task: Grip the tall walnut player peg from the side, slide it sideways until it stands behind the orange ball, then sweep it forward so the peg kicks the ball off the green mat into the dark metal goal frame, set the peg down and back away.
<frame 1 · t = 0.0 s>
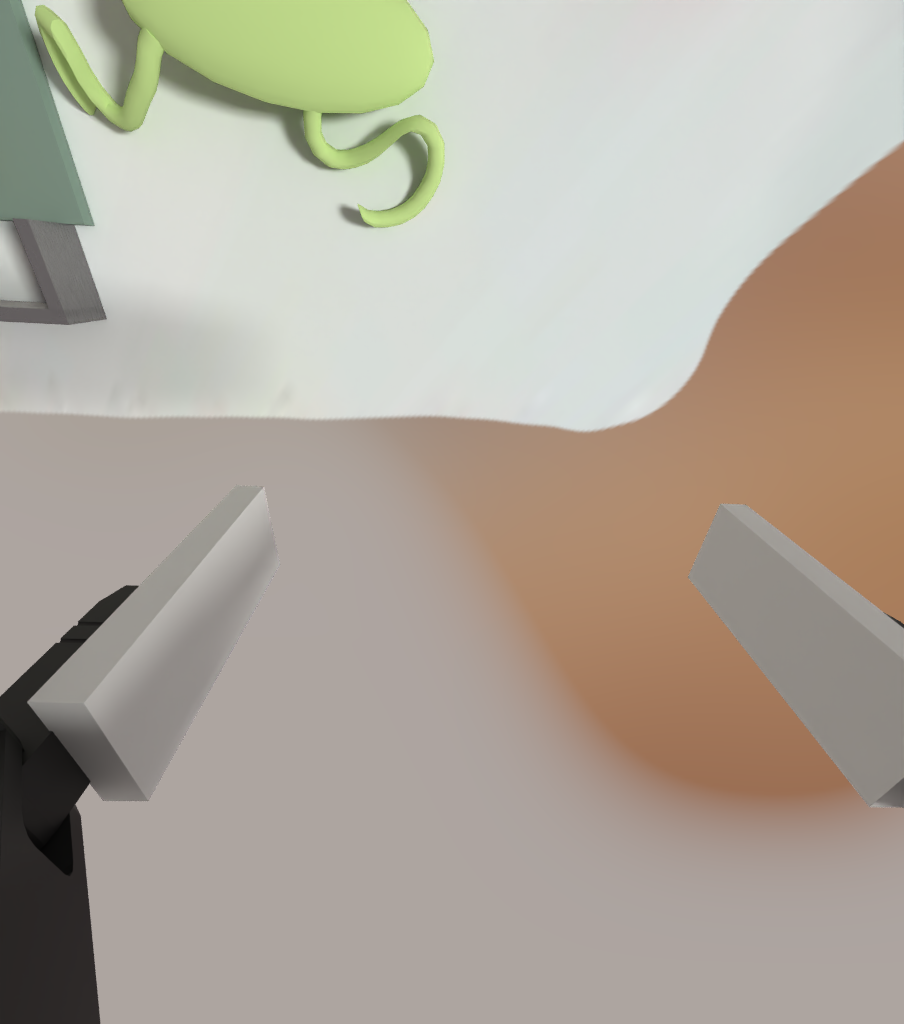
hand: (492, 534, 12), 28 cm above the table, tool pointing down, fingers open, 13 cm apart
figurine: (253, 6, 26), on the table
goal: (17, 266, 32), on the table
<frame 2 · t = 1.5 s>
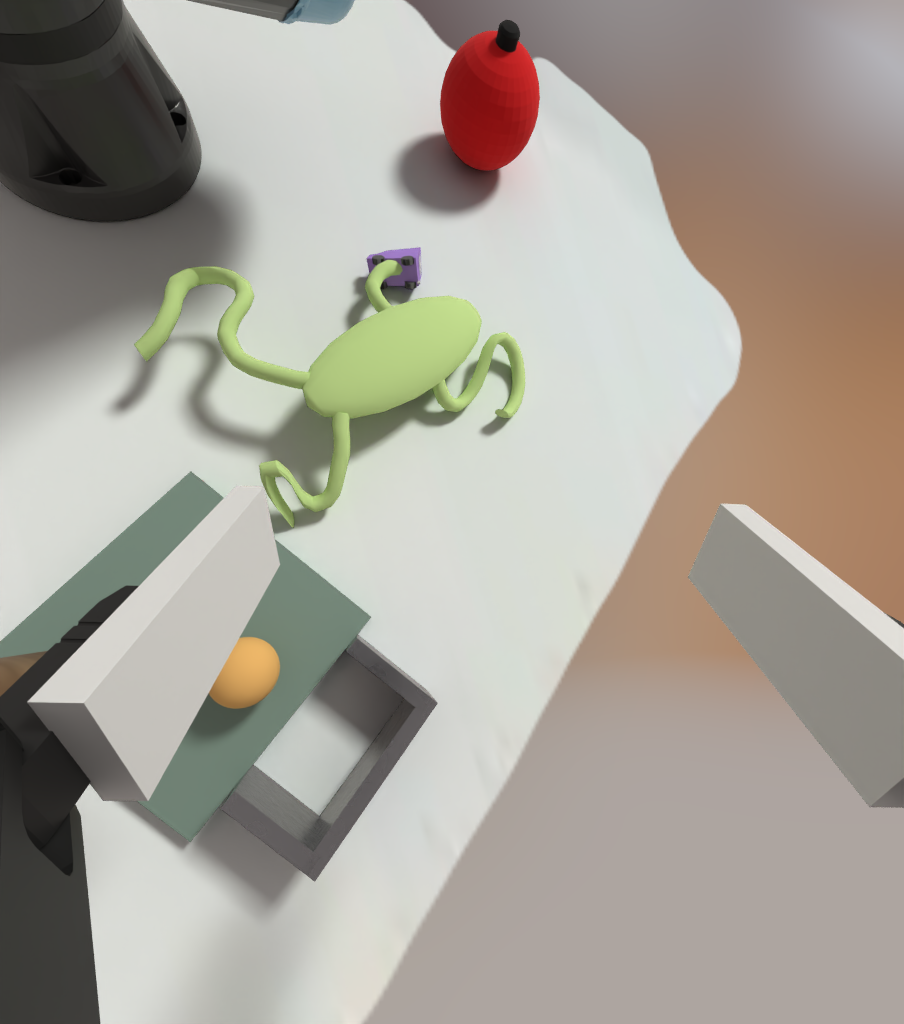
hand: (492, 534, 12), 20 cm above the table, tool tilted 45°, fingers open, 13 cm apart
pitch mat: (196, 639, 27), on the table
ornament: (475, 159, 42), on the table
player peg: (83, 680, 24), point 1 cm above the table, touching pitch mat
figurine: (355, 382, 34), on the table
goal: (337, 729, 28), on the table
ball: (243, 671, 25), point 3 cm above the table, touching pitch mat
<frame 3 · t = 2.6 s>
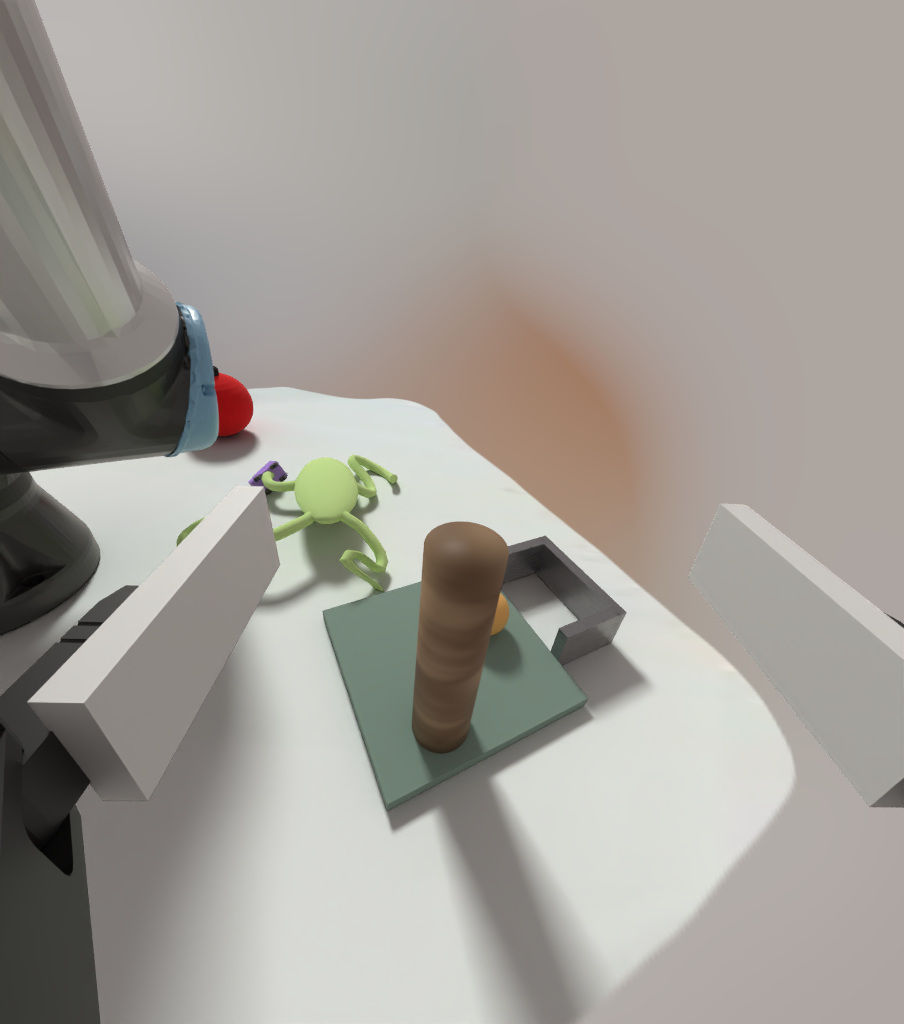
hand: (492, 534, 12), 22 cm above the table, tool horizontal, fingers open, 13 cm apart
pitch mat: (445, 659, 34), on the table
ornament: (226, 434, 63), on the table
player peg: (440, 723, 28), point 1 cm above the table, touching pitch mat
figurine: (313, 530, 47), on the table
goal: (543, 610, 39), on the table
ball: (485, 611, 34), point 3 cm above the table, touching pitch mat
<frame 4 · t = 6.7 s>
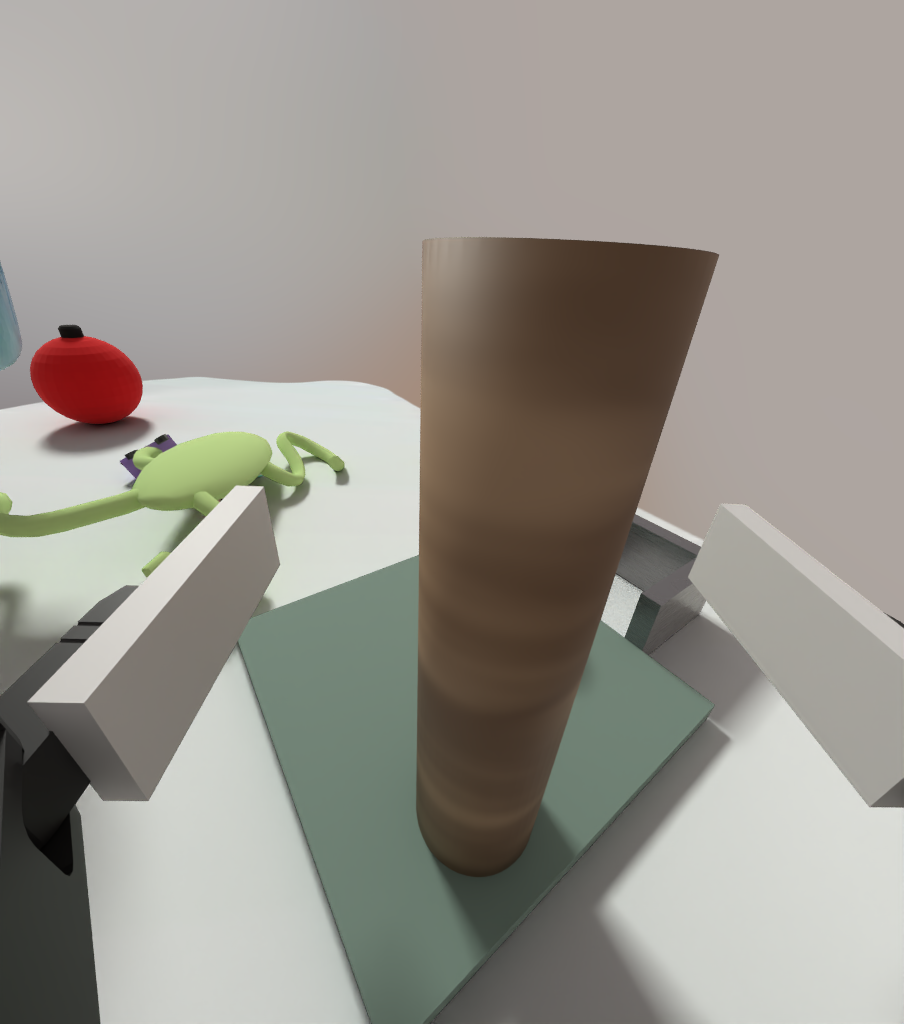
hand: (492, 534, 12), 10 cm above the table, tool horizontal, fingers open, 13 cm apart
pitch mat: (456, 676, 20), on the table
ornament: (106, 423, 46), on the table
player peg: (474, 802, 14), point 1 cm above the table, touching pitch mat
figurine: (187, 529, 30), on the table
goal: (586, 582, 26), on the table
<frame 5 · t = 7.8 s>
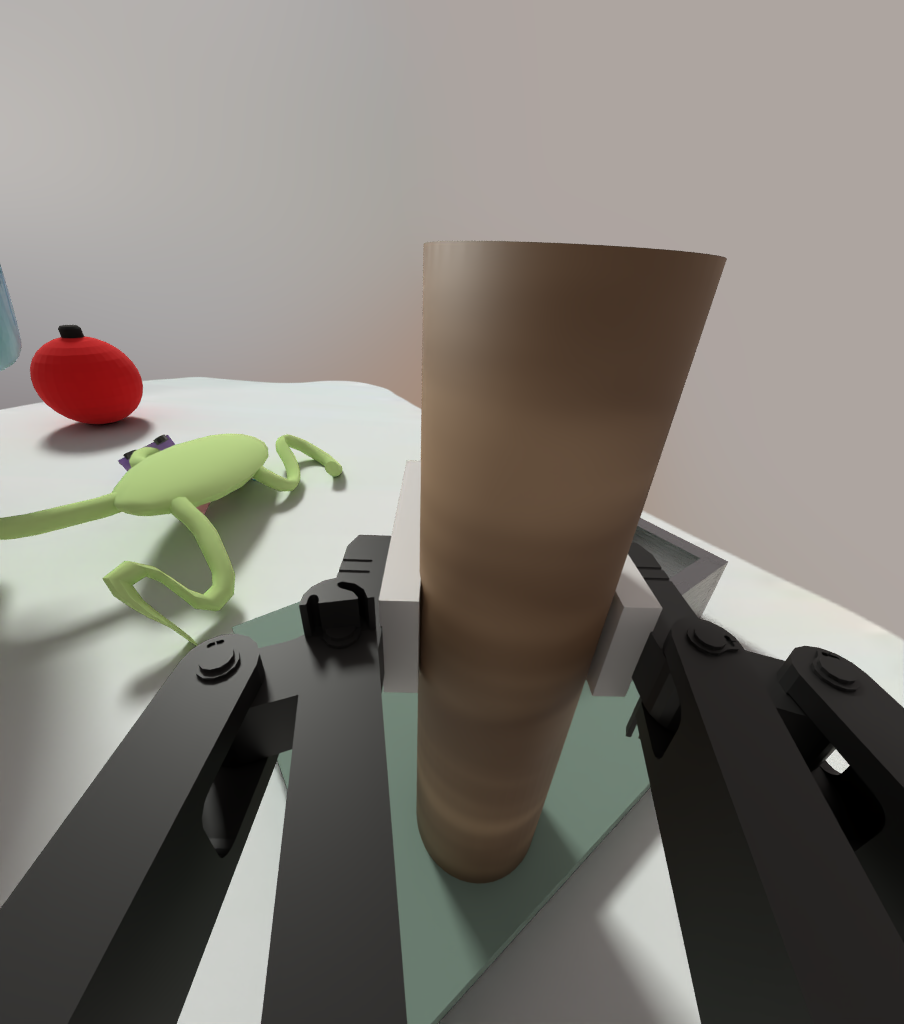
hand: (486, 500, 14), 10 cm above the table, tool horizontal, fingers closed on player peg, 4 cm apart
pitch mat: (457, 679, 19), on the table
ornament: (106, 423, 46), on the table
player peg: (475, 807, 14), point 1 cm above the table, touching gripper
figurine: (175, 533, 29), on the table
goal: (587, 584, 26), on the table
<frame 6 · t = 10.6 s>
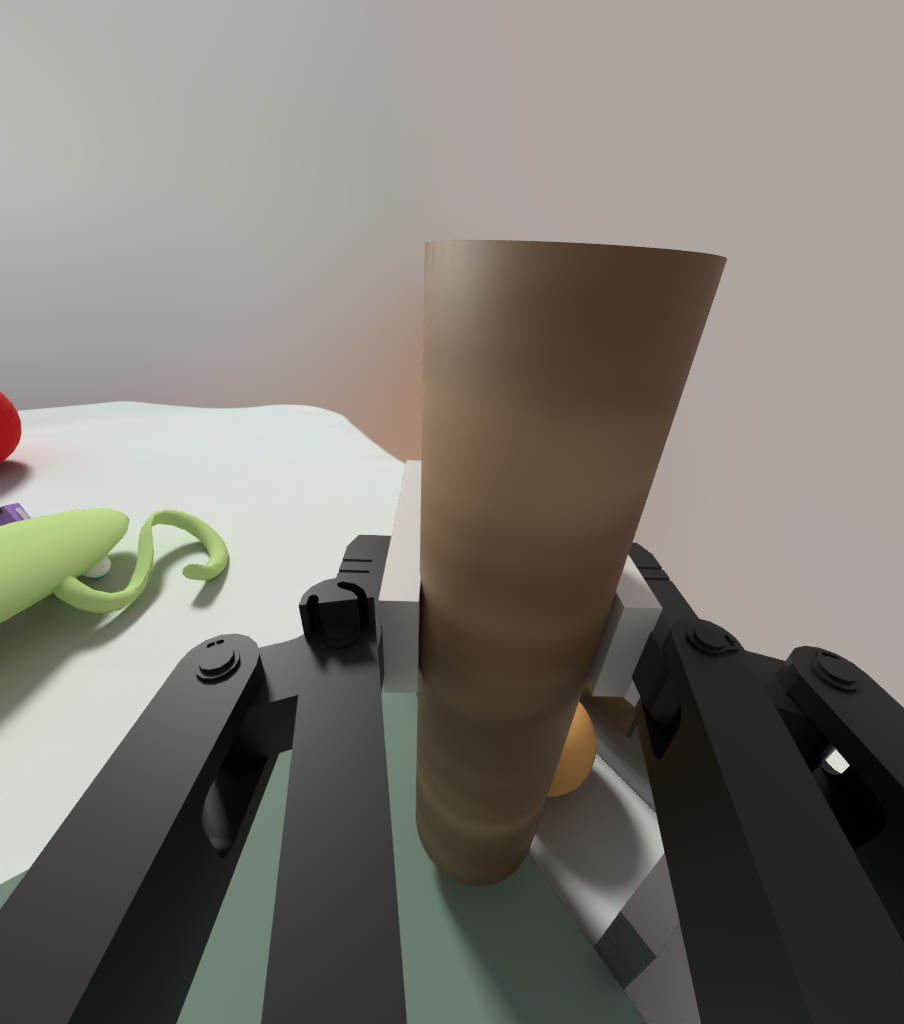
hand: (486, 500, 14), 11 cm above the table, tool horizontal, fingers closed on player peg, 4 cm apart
player peg: (474, 810, 14), point 2 cm above the table, touching gripper
goal: (545, 771, 17), on the table
ball: (543, 736, 16), point 2 cm above the table, tilted 151°
when the fingers open (11 cm above the table, at t = 12.2 s): player peg stays where it is, resting on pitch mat.
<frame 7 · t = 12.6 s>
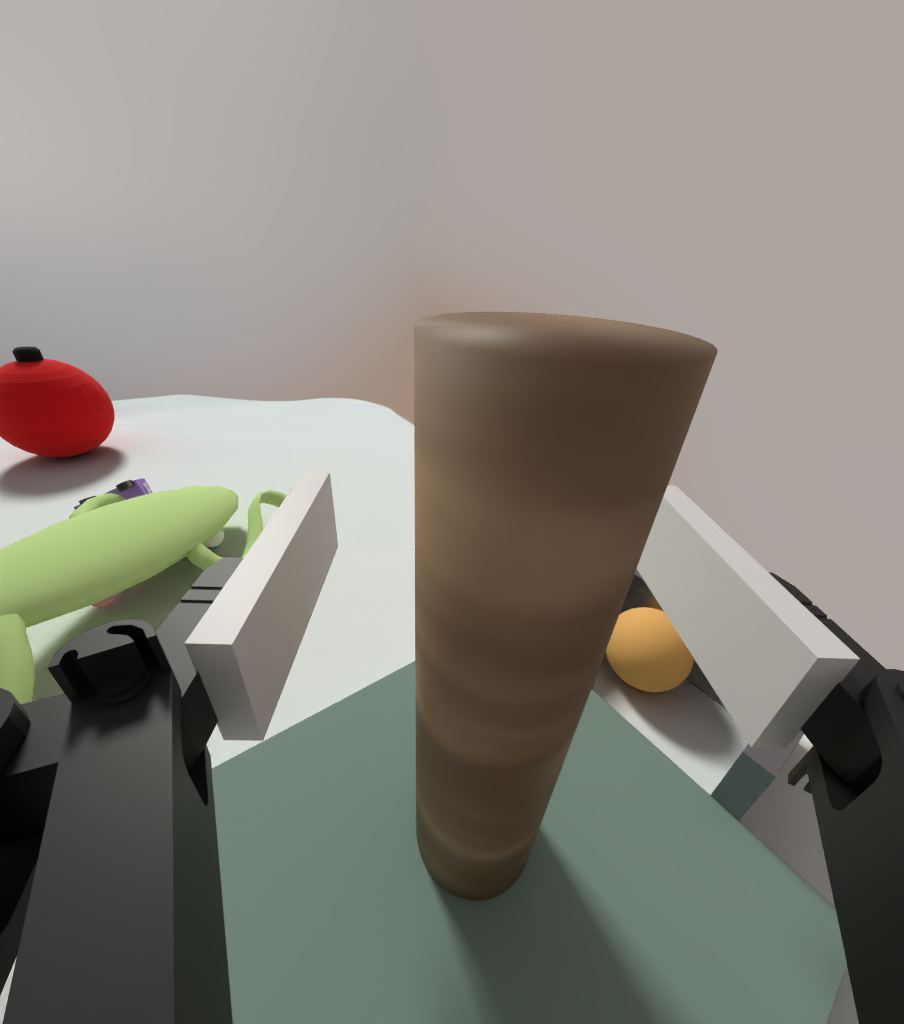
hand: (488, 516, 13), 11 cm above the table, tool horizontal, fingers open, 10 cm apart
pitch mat: (488, 862, 14), on the table
ornament: (73, 455, 41), on the table
player peg: (473, 824, 14), point 1 cm above the table, touching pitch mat
figurine: (77, 621, 23), on the table
goal: (641, 687, 21), on the table
ball: (647, 648, 20), point 2 cm above the table, tilted 134°
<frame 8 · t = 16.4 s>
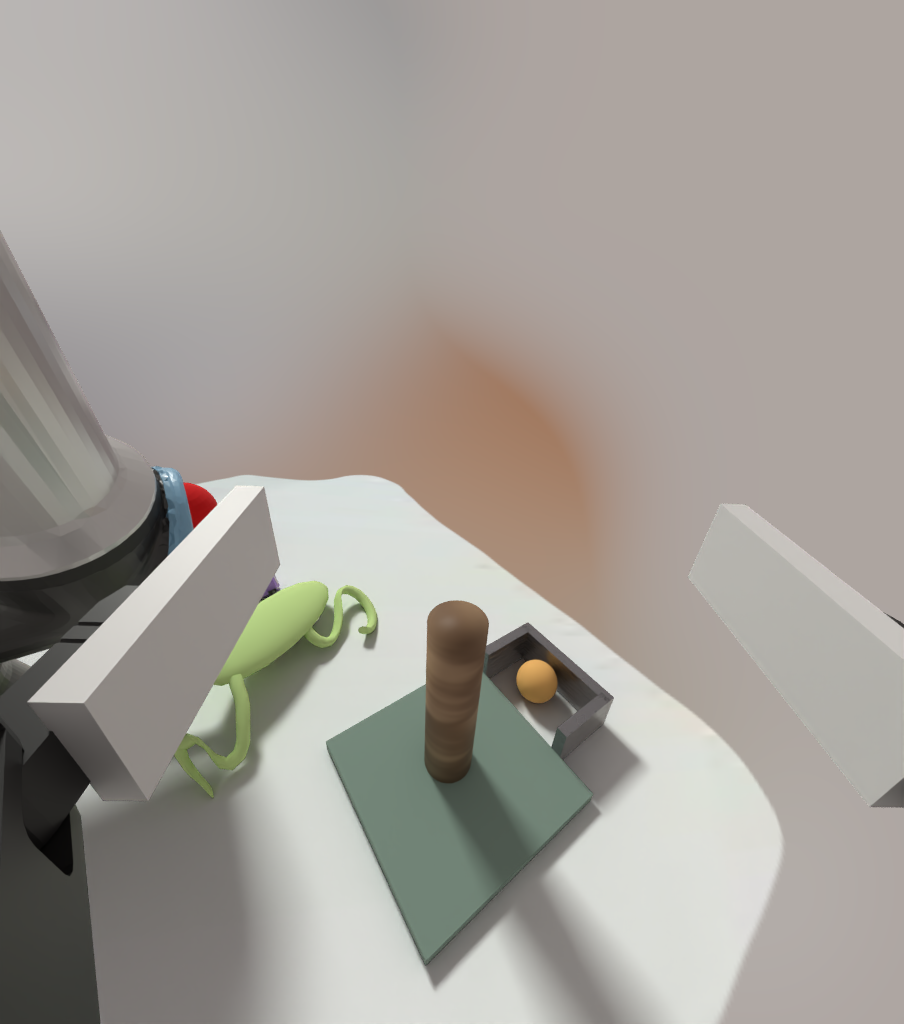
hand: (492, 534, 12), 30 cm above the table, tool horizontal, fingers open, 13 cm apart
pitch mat: (454, 773, 35), on the table
ornament: (192, 540, 61), on the table
player peg: (447, 758, 35), point 1 cm above the table, touching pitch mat
figurine: (247, 667, 43), on the table
goal: (536, 699, 41), on the table
ball: (536, 680, 41), point 2 cm above the table, tilted 142°
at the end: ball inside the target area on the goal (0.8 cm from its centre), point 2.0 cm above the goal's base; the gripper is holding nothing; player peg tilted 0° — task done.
